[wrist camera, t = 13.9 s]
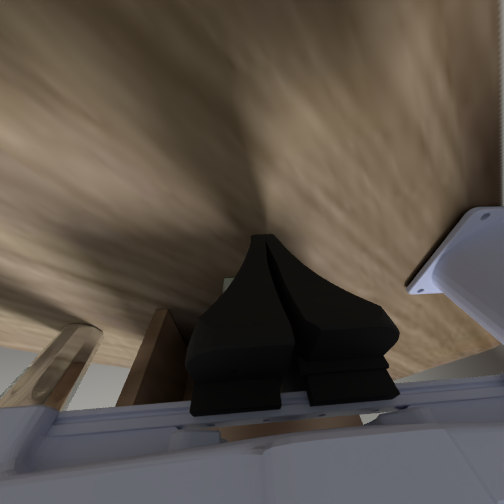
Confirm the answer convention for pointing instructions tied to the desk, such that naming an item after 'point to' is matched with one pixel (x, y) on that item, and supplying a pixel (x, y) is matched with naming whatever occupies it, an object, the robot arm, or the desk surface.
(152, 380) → the brown open box
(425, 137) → the desk surface
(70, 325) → the milkshake
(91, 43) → the desk surface
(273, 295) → the robot arm
